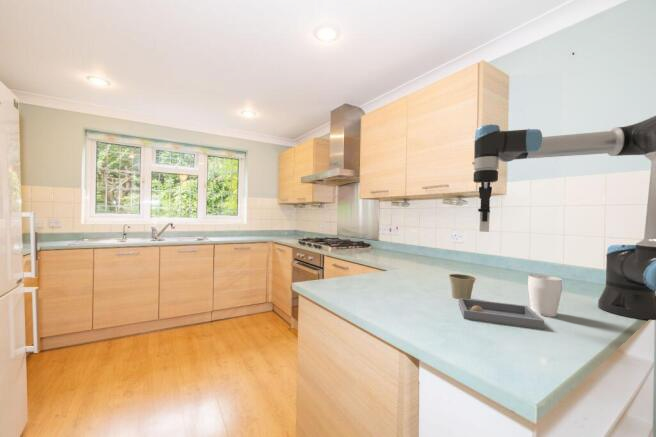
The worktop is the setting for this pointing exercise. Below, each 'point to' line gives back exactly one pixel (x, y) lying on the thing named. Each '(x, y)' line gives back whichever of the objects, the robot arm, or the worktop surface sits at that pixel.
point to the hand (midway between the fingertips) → (483, 231)
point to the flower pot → (461, 285)
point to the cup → (544, 294)
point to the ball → (477, 308)
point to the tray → (501, 313)
